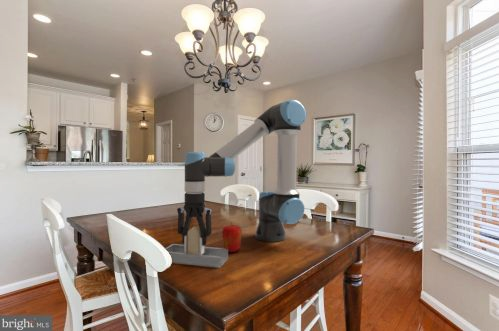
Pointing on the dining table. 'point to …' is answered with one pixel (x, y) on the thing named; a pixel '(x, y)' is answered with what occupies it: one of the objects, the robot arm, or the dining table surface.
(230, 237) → the apple
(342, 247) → the dining table surface
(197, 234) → the candle
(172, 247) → the gray tray
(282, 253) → the dining table surface
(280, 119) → the robot arm
